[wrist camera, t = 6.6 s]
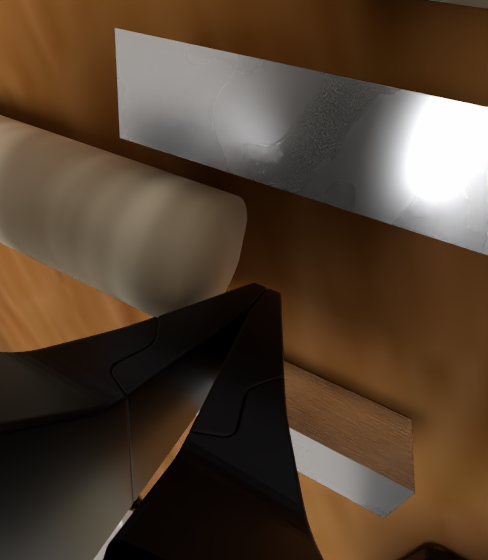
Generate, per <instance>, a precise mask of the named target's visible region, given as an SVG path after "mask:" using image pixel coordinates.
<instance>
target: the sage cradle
mask: <svg viewBox="0 0 488 560" xmlns="http://www.w3.org/2000/svg"><path fill="white" fill-rule="evenodd" d="M429 1H436V2H443V3H450V4H457V5H464V6H471V7H478V8H485V9H488V0H429Z"/></svg>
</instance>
